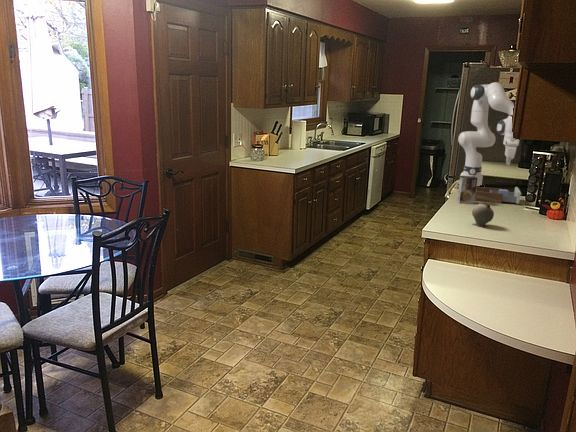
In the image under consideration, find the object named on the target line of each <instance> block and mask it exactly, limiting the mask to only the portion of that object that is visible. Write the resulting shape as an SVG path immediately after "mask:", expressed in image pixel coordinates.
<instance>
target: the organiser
mask: <svg viewBox="0 0 576 432" xmlns="http://www.w3.org/2000/svg"><path fill="white" fill-rule="evenodd" d="M499 189H500V188H498V187H497V188H495V187H486V186H484V187H477V186H476V194H475V202H483V203H492V204H493V203H494V204H500V203H501V204H502V202H503V201H502V197H503V194H500V193H490V190H496V191H499Z"/></svg>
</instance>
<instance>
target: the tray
mask: <svg viewBox="0 0 576 432" xmlns="http://www.w3.org/2000/svg"><path fill="white" fill-rule="evenodd" d="M490 193H499V191H496V190H490ZM521 196H522V192H521V190H520V188H519V187H518V186H515V187H514V191H508V196H506V195H503V197H502V202H505V203H513V204H519V203H520V199H521Z"/></svg>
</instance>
